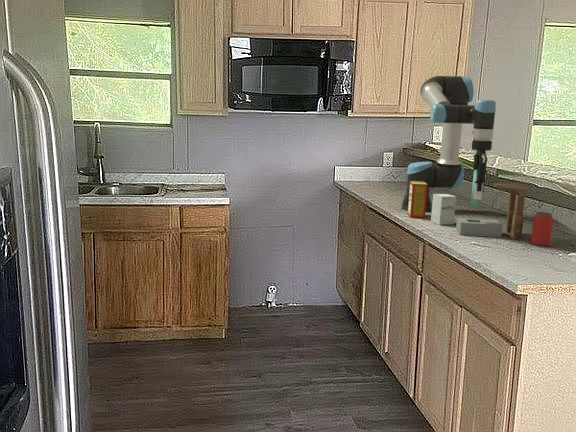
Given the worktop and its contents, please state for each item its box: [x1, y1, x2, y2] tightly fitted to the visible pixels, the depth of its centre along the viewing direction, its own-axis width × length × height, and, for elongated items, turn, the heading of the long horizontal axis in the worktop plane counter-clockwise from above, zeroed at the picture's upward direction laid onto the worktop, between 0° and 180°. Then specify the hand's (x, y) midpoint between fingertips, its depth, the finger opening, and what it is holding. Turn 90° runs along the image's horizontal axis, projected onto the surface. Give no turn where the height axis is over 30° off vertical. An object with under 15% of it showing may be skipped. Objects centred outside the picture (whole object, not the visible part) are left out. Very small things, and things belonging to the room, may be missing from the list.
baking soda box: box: [407, 181, 428, 219], centre depth 257 cm, size 10×6×16 cm
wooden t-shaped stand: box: [493, 182, 528, 240], centre depth 223 cm, size 14×9×20 cm, turn 173°
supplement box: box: [430, 193, 457, 226], centre depth 243 cm, size 7×7×13 cm
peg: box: [470, 170, 484, 207], centre depth 223 cm, size 4×4×14 cm
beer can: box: [530, 211, 554, 247], centre depth 209 cm, size 7×7×12 cm
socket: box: [455, 217, 504, 238], centre depth 226 cm, size 10×16×5 cm, turn 82°
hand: (476, 198), depth 223 cm, fingers closed on peg, 4 cm apart
